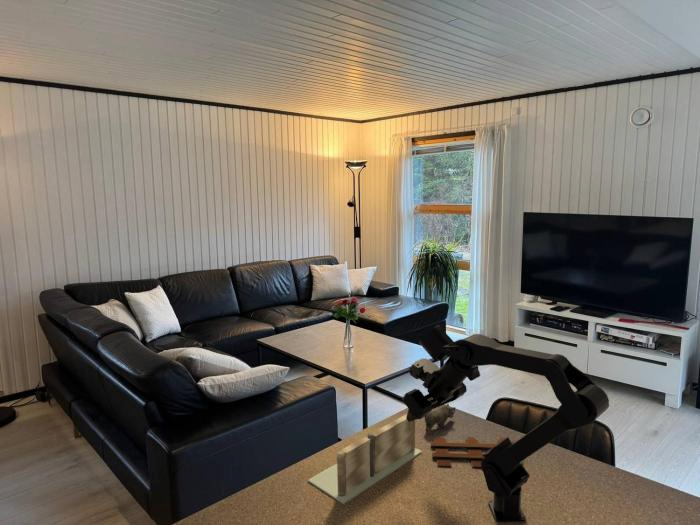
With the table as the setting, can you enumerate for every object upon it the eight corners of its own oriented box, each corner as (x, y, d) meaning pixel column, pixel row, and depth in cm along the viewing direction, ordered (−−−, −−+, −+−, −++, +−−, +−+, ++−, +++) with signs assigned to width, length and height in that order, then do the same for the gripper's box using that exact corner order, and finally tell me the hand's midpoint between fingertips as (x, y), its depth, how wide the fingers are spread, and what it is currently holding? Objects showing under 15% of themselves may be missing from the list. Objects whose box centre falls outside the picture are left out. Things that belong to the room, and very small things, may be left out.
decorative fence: (526, 472, 122) (512, 441, 137) (526, 466, 122) (512, 435, 137) (433, 469, 125) (429, 439, 139) (433, 463, 124) (429, 433, 139)
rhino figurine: (461, 420, 148) (461, 402, 147) (431, 436, 140) (431, 416, 139) (450, 416, 151) (450, 397, 150) (420, 431, 143) (420, 411, 142)
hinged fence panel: (376, 473, 121) (375, 436, 119) (371, 471, 122) (370, 433, 120) (416, 448, 132) (416, 413, 130) (411, 445, 133) (411, 411, 132)
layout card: (343, 504, 111) (343, 502, 111) (308, 481, 120) (308, 479, 120) (421, 452, 131) (421, 450, 131) (386, 436, 140) (386, 434, 140)
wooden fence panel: (341, 497, 113) (340, 454, 111) (336, 494, 114) (335, 451, 112) (375, 475, 121) (375, 435, 119) (370, 472, 122) (369, 432, 120)
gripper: (450, 340, 124) (422, 378, 132) (403, 360, 111) (375, 399, 120) (481, 374, 118) (449, 411, 127) (435, 399, 106) (403, 437, 114)
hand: (419, 413), depth 122 cm, fingers open, 9 cm apart
